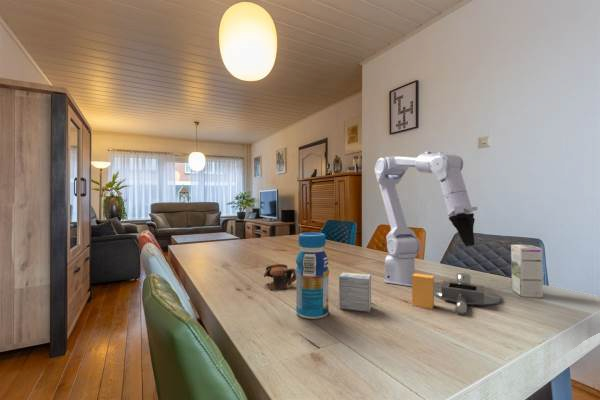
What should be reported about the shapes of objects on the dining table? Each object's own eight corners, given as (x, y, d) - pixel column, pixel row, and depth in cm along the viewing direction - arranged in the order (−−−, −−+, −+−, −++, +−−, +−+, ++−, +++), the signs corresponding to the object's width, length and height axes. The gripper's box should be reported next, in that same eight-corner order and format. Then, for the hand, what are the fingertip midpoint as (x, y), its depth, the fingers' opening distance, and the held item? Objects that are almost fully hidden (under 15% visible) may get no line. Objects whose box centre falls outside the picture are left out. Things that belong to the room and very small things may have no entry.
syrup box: (543, 298, 82) (543, 247, 82) (520, 296, 83) (520, 247, 83) (532, 291, 88) (532, 244, 88) (510, 290, 89) (510, 244, 89)
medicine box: (371, 306, 77) (371, 274, 77) (369, 313, 73) (369, 278, 72) (342, 303, 79) (342, 271, 79) (339, 309, 75) (338, 276, 75)
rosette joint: (421, 308, 75) (421, 285, 75) (434, 282, 98) (434, 265, 98) (505, 323, 66) (505, 297, 66) (498, 291, 89) (498, 271, 88)
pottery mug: (259, 291, 91) (258, 266, 95) (272, 296, 99) (270, 272, 103) (295, 284, 88) (292, 258, 92) (304, 289, 96) (302, 265, 100)
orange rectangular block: (412, 305, 77) (412, 275, 77) (414, 301, 80) (414, 273, 80) (432, 308, 75) (432, 278, 75) (433, 305, 77) (433, 275, 77)
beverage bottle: (289, 312, 73) (288, 233, 73) (314, 304, 78) (314, 231, 78) (310, 323, 66) (309, 237, 66) (336, 314, 72) (335, 234, 72)
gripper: (471, 184, 70) (488, 239, 66) (472, 196, 82) (487, 244, 78) (439, 191, 73) (454, 244, 69) (445, 202, 85) (458, 248, 81)
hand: (469, 244), depth 74 cm, fingers open, 7 cm apart
